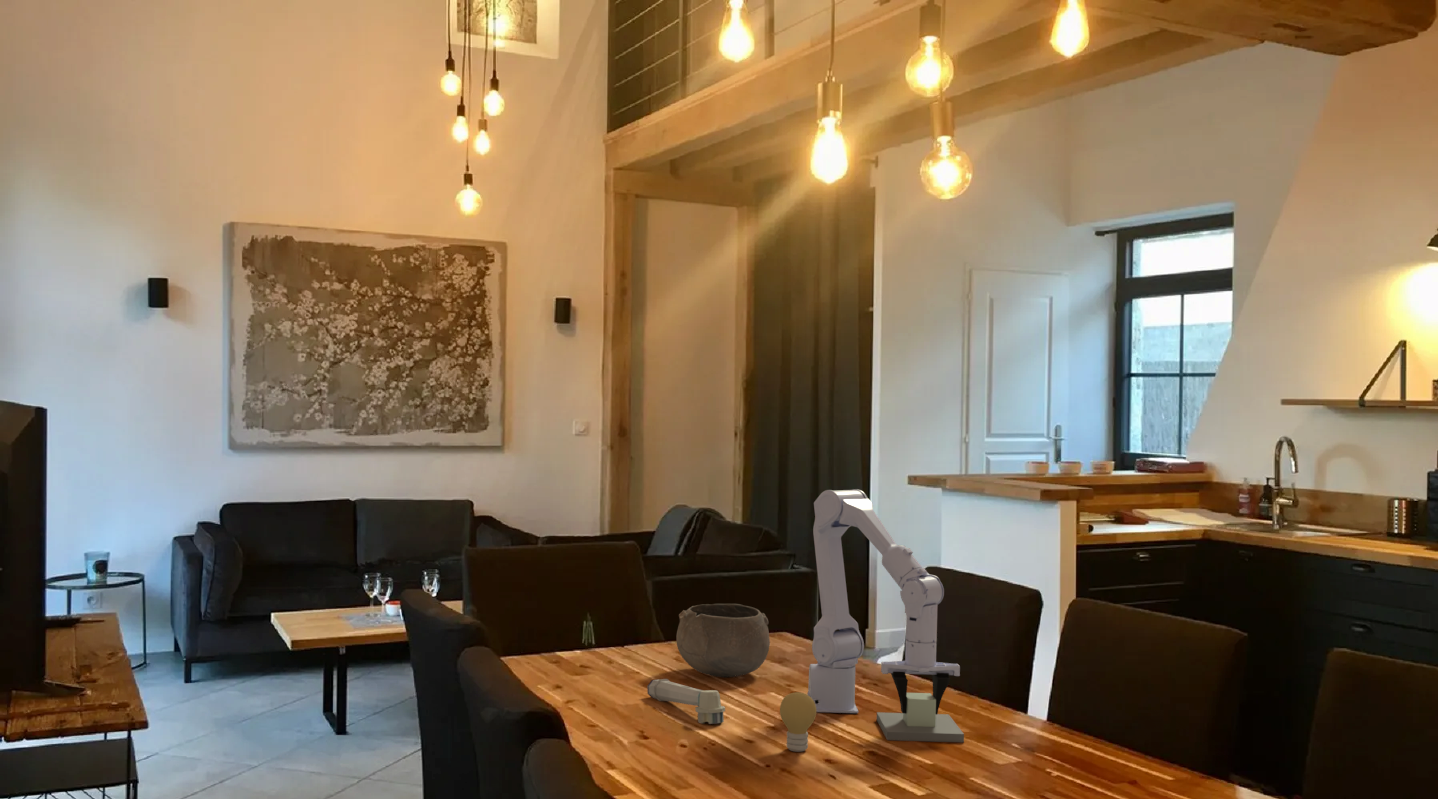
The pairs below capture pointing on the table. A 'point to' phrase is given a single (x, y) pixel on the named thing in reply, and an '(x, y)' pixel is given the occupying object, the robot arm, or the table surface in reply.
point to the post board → (919, 729)
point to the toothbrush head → (689, 699)
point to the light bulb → (797, 719)
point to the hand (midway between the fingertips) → (919, 712)
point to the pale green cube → (920, 710)
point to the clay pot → (723, 639)
